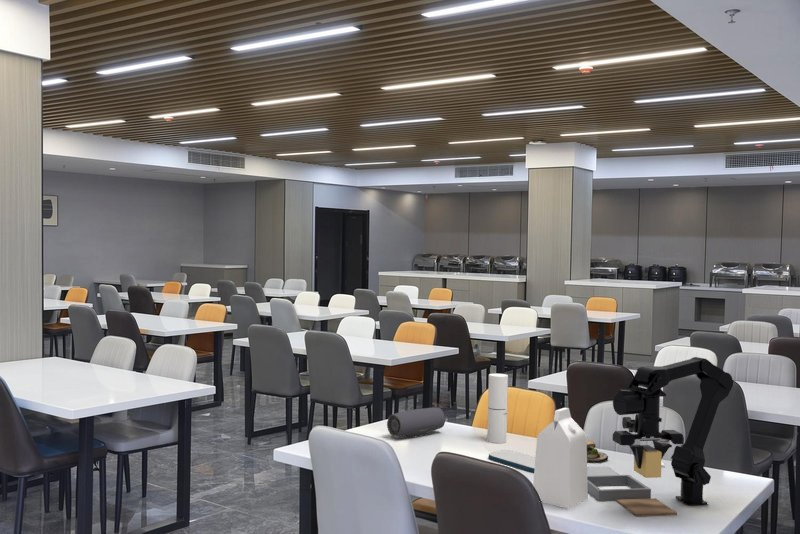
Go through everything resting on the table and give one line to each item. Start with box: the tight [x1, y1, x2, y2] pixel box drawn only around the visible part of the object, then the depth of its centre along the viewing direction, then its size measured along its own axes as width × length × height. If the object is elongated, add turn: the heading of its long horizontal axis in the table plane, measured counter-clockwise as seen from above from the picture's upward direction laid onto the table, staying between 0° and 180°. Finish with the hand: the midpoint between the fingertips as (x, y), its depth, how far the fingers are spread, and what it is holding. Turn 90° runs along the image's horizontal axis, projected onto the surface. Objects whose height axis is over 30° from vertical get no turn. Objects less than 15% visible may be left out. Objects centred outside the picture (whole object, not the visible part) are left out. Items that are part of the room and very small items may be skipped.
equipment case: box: [587, 465, 652, 502], centre depth 227 cm, size 28×16×3 cm, turn 9°
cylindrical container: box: [486, 373, 509, 444], centre depth 278 cm, size 7×7×25 cm
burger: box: [587, 440, 609, 462], centre depth 257 cm, size 12×12×8 cm
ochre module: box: [633, 444, 662, 479], centre depth 206 cm, size 7×4×7 cm, turn 9°
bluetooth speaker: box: [386, 407, 446, 438], centre depth 285 cm, size 23×9×10 cm, turn 130°
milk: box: [532, 407, 589, 510], centre depth 213 cm, size 12×12×26 cm
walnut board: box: [616, 497, 678, 517], centre depth 207 cm, size 12×12×1 cm
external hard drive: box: [488, 449, 536, 474], centre depth 249 cm, size 24×12×2 cm, turn 40°
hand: (647, 468), depth 206 cm, fingers closed on ochre module, 4 cm apart
